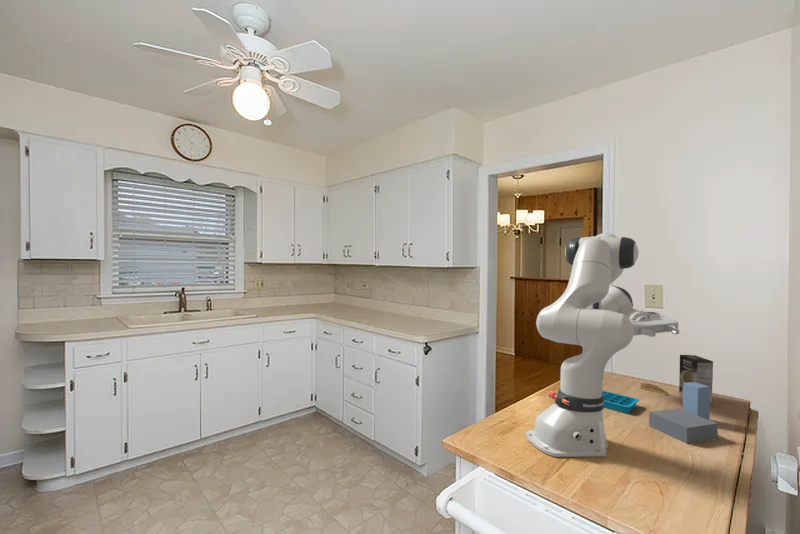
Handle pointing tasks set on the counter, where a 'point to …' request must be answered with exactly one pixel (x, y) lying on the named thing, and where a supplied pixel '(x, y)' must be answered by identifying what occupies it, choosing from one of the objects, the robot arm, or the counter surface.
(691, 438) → the charcoal block
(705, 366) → the coffee box
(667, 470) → the counter surface
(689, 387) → the slate-blue block
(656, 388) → the shard
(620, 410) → the ice cube tray
